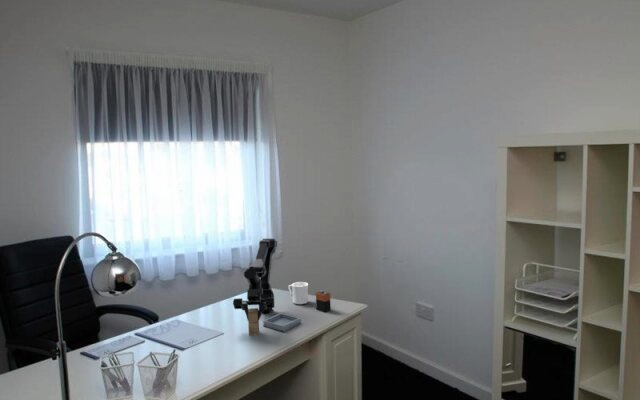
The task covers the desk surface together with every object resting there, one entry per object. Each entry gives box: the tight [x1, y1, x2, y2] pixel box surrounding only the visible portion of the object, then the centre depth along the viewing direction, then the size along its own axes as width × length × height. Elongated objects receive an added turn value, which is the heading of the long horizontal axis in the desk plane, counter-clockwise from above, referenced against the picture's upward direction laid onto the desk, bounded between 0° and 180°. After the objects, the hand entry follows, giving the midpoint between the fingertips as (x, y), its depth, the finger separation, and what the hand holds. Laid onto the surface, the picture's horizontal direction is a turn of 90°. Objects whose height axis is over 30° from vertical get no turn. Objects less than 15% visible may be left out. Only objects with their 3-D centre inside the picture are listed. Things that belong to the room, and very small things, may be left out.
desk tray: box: [262, 312, 302, 332], centre depth 224 cm, size 13×13×2 cm
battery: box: [315, 289, 331, 313], centre depth 242 cm, size 4×7×10 cm, turn 44°
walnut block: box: [247, 307, 260, 336], centre depth 214 cm, size 4×4×11 cm
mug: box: [287, 281, 309, 306], centre depth 254 cm, size 11×9×10 cm
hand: (253, 320), depth 212 cm, fingers closed on walnut block, 4 cm apart
